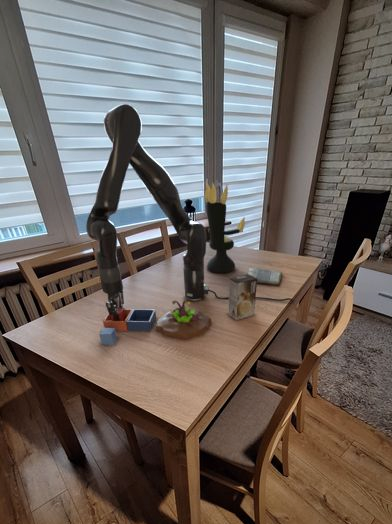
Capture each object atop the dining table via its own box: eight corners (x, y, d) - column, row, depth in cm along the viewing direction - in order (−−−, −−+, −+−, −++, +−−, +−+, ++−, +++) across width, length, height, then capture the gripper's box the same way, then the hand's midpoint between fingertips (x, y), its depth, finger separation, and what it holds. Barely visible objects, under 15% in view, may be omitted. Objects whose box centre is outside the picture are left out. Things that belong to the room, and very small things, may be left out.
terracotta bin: (134, 317, 116) (133, 309, 113) (127, 330, 107) (125, 321, 105) (113, 317, 116) (111, 308, 114) (105, 330, 108) (102, 321, 105)
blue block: (117, 338, 103) (115, 327, 100) (113, 344, 99) (111, 334, 97) (105, 337, 103) (103, 327, 100) (101, 344, 99) (99, 334, 97)
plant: (191, 344, 98) (190, 316, 92) (148, 330, 107) (145, 304, 100) (217, 320, 112) (218, 295, 105) (178, 310, 121) (176, 285, 114)
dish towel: (279, 286, 140) (280, 280, 138) (244, 282, 145) (244, 276, 143) (282, 274, 155) (283, 268, 153) (250, 271, 159) (250, 265, 158)
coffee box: (245, 309, 120) (248, 273, 111) (254, 315, 115) (258, 278, 106) (227, 314, 116) (229, 277, 107) (236, 320, 112) (238, 282, 103)
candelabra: (242, 267, 166) (249, 179, 140) (225, 278, 150) (229, 183, 124) (215, 262, 174) (216, 179, 148) (196, 273, 159) (194, 182, 133)
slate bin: (156, 318, 115) (155, 309, 113) (150, 331, 106) (149, 322, 104) (135, 317, 116) (133, 309, 113) (128, 330, 107) (126, 321, 105)
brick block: (126, 317, 112) (124, 307, 110) (122, 322, 109) (121, 312, 106) (115, 317, 113) (113, 307, 110) (112, 322, 109) (109, 312, 106)
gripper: (114, 285, 95) (123, 328, 104) (126, 271, 106) (133, 311, 116) (93, 285, 95) (103, 328, 105) (107, 271, 107) (115, 311, 117)
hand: (119, 319), depth 110 cm, fingers closed on brick block, 4 cm apart
